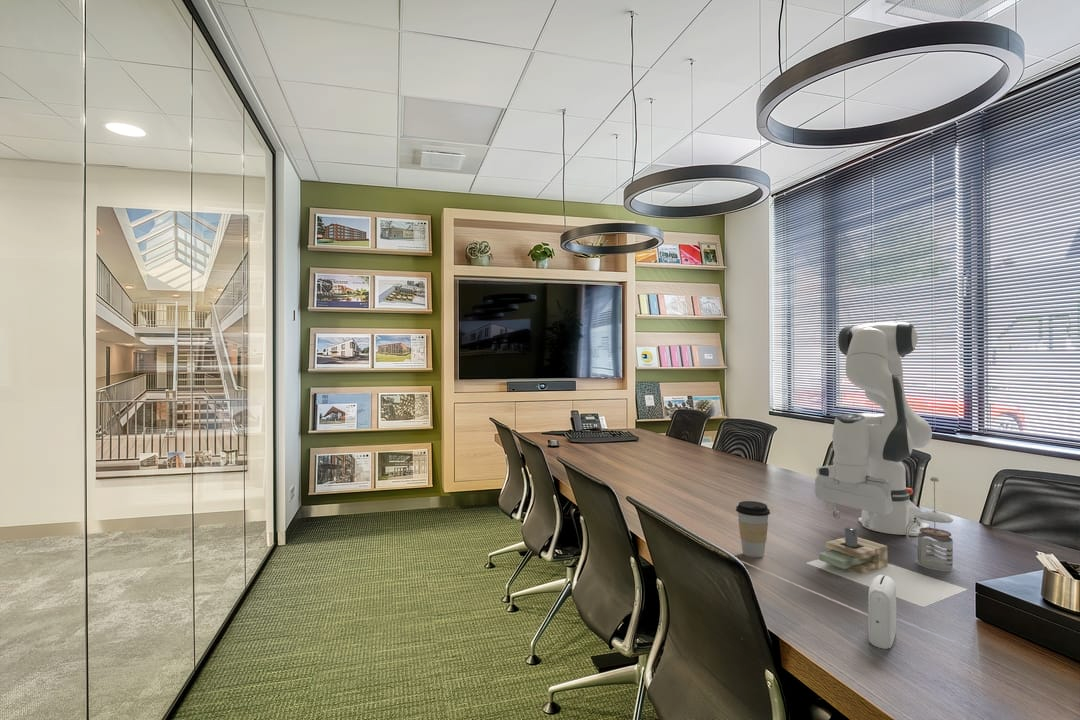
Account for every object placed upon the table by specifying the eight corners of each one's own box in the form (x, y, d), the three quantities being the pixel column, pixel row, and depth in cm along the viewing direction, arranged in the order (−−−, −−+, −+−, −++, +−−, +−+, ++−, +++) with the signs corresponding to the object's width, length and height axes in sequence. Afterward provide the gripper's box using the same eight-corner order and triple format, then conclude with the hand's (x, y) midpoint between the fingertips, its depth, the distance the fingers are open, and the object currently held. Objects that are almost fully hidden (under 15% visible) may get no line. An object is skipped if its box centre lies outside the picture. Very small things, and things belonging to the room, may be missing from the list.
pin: (849, 562, 147) (848, 526, 148) (860, 565, 145) (859, 529, 145) (843, 564, 146) (842, 528, 146) (853, 567, 143) (852, 531, 143)
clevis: (851, 554, 154) (851, 535, 154) (887, 565, 145) (887, 546, 145) (814, 564, 146) (814, 545, 146) (849, 577, 137) (849, 556, 137)
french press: (964, 575, 139) (963, 481, 139) (912, 569, 143) (911, 478, 143) (949, 562, 148) (948, 474, 148) (901, 557, 152) (900, 471, 152)
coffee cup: (755, 563, 148) (754, 510, 148) (729, 552, 157) (728, 502, 157) (777, 557, 153) (777, 506, 153) (751, 547, 161) (750, 498, 161)
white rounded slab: (892, 652, 103) (891, 589, 103) (866, 644, 106) (866, 583, 106) (898, 631, 111) (897, 573, 111) (874, 624, 114) (873, 568, 114)
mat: (849, 552, 156) (849, 550, 156) (968, 591, 129) (968, 589, 129) (805, 564, 147) (805, 562, 147) (923, 609, 120) (923, 607, 120)
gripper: (897, 479, 138) (898, 531, 138) (824, 465, 156) (825, 511, 156) (883, 482, 135) (884, 535, 135) (810, 467, 153) (811, 514, 153)
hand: (852, 522), depth 146 cm, fingers open, 8 cm apart
